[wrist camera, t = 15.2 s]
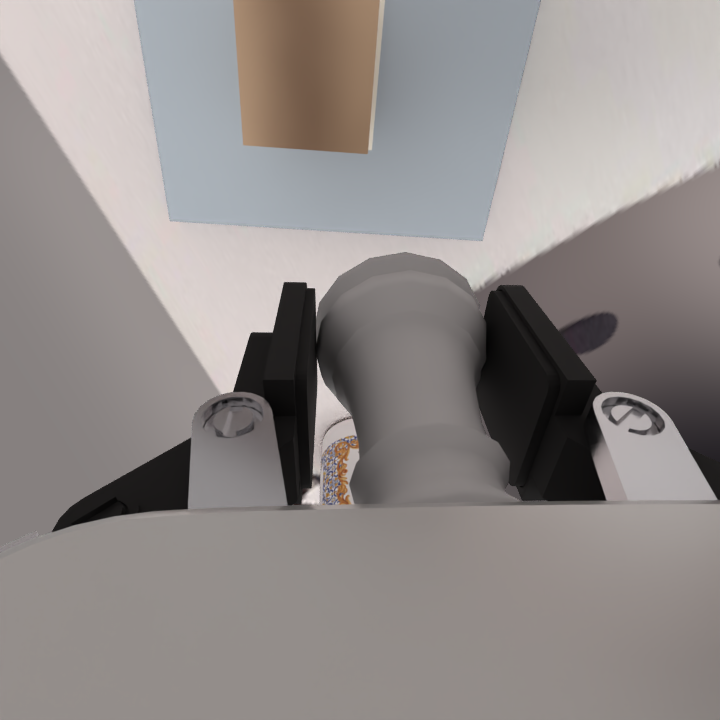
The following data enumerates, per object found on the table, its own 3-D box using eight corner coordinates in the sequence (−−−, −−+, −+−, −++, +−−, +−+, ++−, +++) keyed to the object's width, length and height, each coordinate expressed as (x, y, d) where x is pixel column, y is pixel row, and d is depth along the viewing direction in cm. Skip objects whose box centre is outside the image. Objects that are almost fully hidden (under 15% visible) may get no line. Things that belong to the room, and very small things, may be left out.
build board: (537, -21, 24) (546, -23, 23) (477, 234, 32) (482, 241, 31) (131, -67, 22) (121, -72, 21) (175, 215, 30) (169, 221, 29)
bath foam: (402, 421, 42) (445, 660, 26) (381, 470, 46) (407, 705, 30) (330, 409, 41) (327, 652, 24) (315, 460, 45) (303, 700, 28)
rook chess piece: (279, 321, 12) (215, 643, 6) (406, 206, 11) (521, 472, 4) (387, 408, 14) (430, 720, 8) (507, 323, 13) (694, 628, 6)
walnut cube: (370, 7, 23) (380, -3, 18) (362, 134, 27) (367, 154, 22) (254, -5, 23) (231, -18, 18) (260, 126, 26) (243, 145, 21)
